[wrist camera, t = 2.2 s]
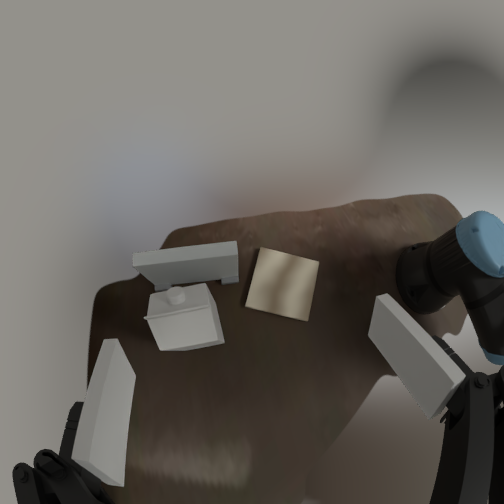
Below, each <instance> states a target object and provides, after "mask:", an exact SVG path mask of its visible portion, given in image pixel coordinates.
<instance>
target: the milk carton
mask: <svg viewBox="0 0 504 504" xmlns="http://www.w3.org/2000/svg"><path fill="white" fill-rule="evenodd" d="M144 319H146V320H147V321H148V324H149V326H150V328H151V331H152V333H153V336H154V338H155V340H156V342H157V345H158V347H159V349H160V350H161V351H186V350H192V349H198V348H203V347H208V346H213V345H218V344H222V343H225V341H224V337H223V333H222V328H221V324H220V319H219V315H218V311H217V306H216V303H215V301H214V299H213V297H212V295H211V293H210V291H209V289H208V287H207V285H206V283H202V284H197V285H192V286H187V287H183V288H182V287H178V286H177V287H172V288H170V289H168V290H167V291H163V292H158V293H154V294H151V295H150V299H149V306H148V313H147V316H146V317H144Z"/></svg>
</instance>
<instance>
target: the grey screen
mask: <svg viewBox="0 0 504 504" xmlns="http://www.w3.org/2000/svg"><path fill="white" fill-rule="evenodd" d="M133 267H134V268H135V269H136V270H138V271H139V272H140V273H141V274H142V275H143V276H145V277H146V278H147V279H148V280H149V281H151V282H152V283H153V284H154V285H155V291H156V292H157V291H167V290H168V289H170V288H172V285H173V284H183V283H193V282H202V281H211V280H220V279H221V281H222V285H225V284H233V283H239V277H238V250H237V242H236V241H230V242H221V243H212V244H204V245H195V246H187V247H178V248H170V249H162V250H153V251H145V252H137V253H133Z"/></svg>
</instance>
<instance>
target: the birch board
mask: <svg viewBox="0 0 504 504" xmlns="http://www.w3.org/2000/svg"><path fill="white" fill-rule="evenodd" d="M318 266H319V262H318V261H314V260H310V259H306V258H302V257H298V256H294V255H291V254H287V253H283V252H279V251H275V250H271V249H267V248H263V247H261V248H260V252H259V255H258V259H257V263H256V267H255V271H254V275H253V278H252V282H251V286H250V290H249V294H248V297H247V301H246V305H245V307H248V308H252V309H256V310H260V311H264V312H268V313H272V314H276V315H280V316H285V317H289V318H293V319H298V320H302V321H308V318H309V313H310V308H311V303H312V298H313V293H314V288H315V282H316V277H317V271H318Z"/></svg>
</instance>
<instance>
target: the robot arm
mask: <svg viewBox="0 0 504 504" xmlns="http://www.w3.org/2000/svg"><path fill="white" fill-rule="evenodd" d="M396 280H397V286H398V289H399V292H400V294H401V296H402V298H403V300H404V301H405V303H406V304H407V305H408V306H409V307H410V308H411V309H412V310H414V311H416V312H418V313H421V314H430V313H434V312H437V311H439V310H441V309H442V308H443V307H444V306H445V305H446V304H447V303H448V302H449V301H451V300H452V299H453V298H454V297H455V296H457V295H460V296H461V298H462V300H463V302H464V304H465V307H466V309H467V312H468V314H469V316H470V318H471V321H472V323H473V326H474V329H475V331H476V334H477V336H478V341H479V345H480V346H481V348H482V349H483V352H484V354H485V356H486V358H487V359H488V361H490V362H491V363H493V364H496V365H503V366H502V367H501V369H500V370H499V372H498V373H495V374H491V375H486V374H484V373H482V372H476V373H474V372H473V371H472V370H471V369H470V368H469V367H468V366H467V365H466V364H465V362H464V361H463V360H462V359H461V358H460V357H459V356H458V355H457V354H456V353H455V352H454V351H453V350H452V348H450V346H448V344H447V343H446V342H445V341H444V340H442V339H441V338H439V337H437V336H435V335H434V336H432V337H430V336H429V334H428V333H427V332H426V331H425V330H424V329H423V328H422V327H421V326H420V325H419V324H418V323H417V322H416V321H415V320H414V319H413V318H412V317H411V316H410V315H409V314H408V313H407V312H406V311H405V310H404V309H403V308H402V307H401V306H400V305H399V304H398V303H397V302H396V301H395V300H394V299H393V298H392V297H391V296H390V295H389V294H388V293H387V294H383V295H379V296H376V300H375V305H374V310H373V315H372V319H371V324H370V328H369V332H368V336H369V338H370V339H371V340H372V342H373V343H374V344H375V346H376V347H377V348H378V350H379V351H380V352H381V354H382V355H383V356H384V358H385V359H386V360H387V362H388V363H389V364H390V366H391V367H392V369H393V370H394V371H395V373H396V374H397V375H398V377H399V378H400V380H401V381H402V382H403V384H404V385H405V387H406V388H407V389H408V391H409V392H410V393H411V395H412V396H413V398H414V399H415V401H416V402H417V404H418V405H419V407H420V408H421V409H422V411H423V412H424V414H425V415H426V417H427V418H428V420H430V419H432V418H433V417H435V416H437V415H438V414H440V413H441V412H442V410H443V409H444V408H445V406H446V407H447V408H448V411H447V412H446V413H445V414H444V416H443V417H442V418H441V420H440V423H442V422H443V421H444V419H445V418H446V421H445V422H444V423H445V431H444V439H443V445H442V452H441V457H440V463H439V468H438V472H437V477H436V481H435V485H434V489H433V493H432V496H431V500H430V504H487V500H488V494H489V504H504V407H503V408H501V406H500V404H501V402H502V401H503V404H504V224H503V223H502V221H501V220H500V219H498V218H497V217H496V216H495V215H493V214H490V213H489V212H486V211H477V212H474V213H473V214H471V215H470V216H468V217H466V218H463V219H462V220H460V221H459V222H458V224H457V225H456V226H455V227H453V228H452V229H450V230H449V231H447V232H446V233H445V234H443V235H442V236H440V237H439V238H437V239H436V240H434V241H430V242H423V243H417V244H414V245H412V246H411V247H409V248H408V249H407V250H405V251H404V252H403V253H402V255H401V256H400V258H399V260H398V263H397V268H396ZM135 379H136V375H135V373H134V371H133V369H132V367H131V365H130V363H129V361H128V359H127V357H126V355H125V353H124V351H123V349H122V347H121V345H120V343H119V341H118V339H104V341H103V344H102V347H101V350H100V352H99V355H98V358H97V361H96V364H95V367H94V371H93V374H92V377H91V380H90V383H89V387H88V390H87V394H86V397H85V401H84V402H75V404H74V405H73V407H72V408H71V409H70V412H69V415H68V419H67V420H68V422H67V423H66V427H65V428H66V429H65V430H64V435H63V438H62V443H61V447H60V452H59V455H57V454H56V453H55V452H53V451H52V450H49V449H44V450H40V451H39V452H38V453H37V454H36V456H35V458H34V468H32V467H30V466H29V465H28V464H26V463H18V464H17V465H16V466H15V467H14V469H13V482H14V487H15V492H16V497H17V501H18V504H115V503H114V502H113V501H112V499H111V498H110V497H109V495H108V494H107V493H106V491H105V490H104V489H103V488H102V487H101V480H102V481H103V482H105V483H106V484H108V485H115V486H122V487H124V473H125V458H126V447H127V437H128V428H129V419H130V412H131V404H132V398H133V391H134V385H135Z"/></svg>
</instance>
